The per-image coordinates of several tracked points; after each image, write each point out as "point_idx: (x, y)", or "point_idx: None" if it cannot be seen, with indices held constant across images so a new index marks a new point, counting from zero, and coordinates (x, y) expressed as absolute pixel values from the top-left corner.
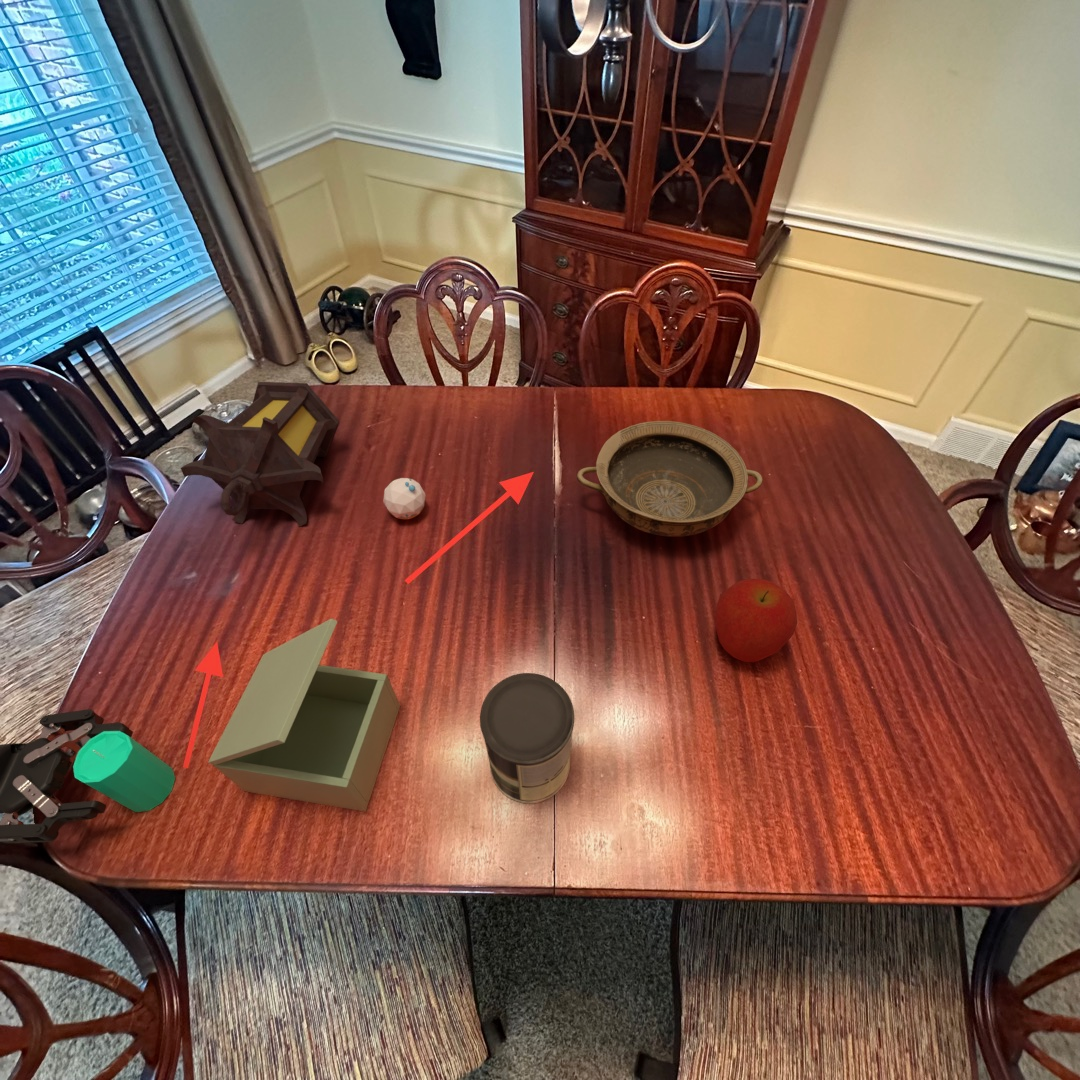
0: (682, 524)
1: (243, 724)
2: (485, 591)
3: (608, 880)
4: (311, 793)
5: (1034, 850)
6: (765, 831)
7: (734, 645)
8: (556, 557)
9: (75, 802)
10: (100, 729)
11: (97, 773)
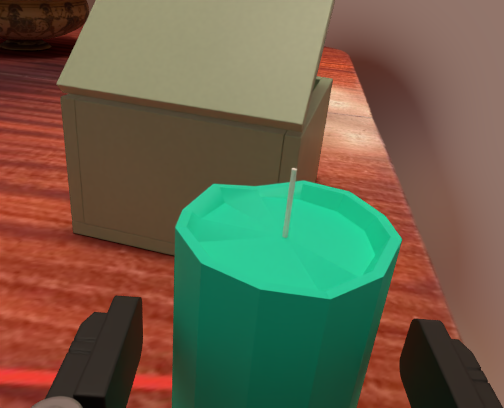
0: (82, 3)
1: (261, 29)
2: (33, 102)
3: (363, 105)
4: (314, 157)
5: (327, 49)
6: (322, 74)
7: None
8: (27, 76)
9: (443, 372)
10: (94, 363)
11: (349, 243)
